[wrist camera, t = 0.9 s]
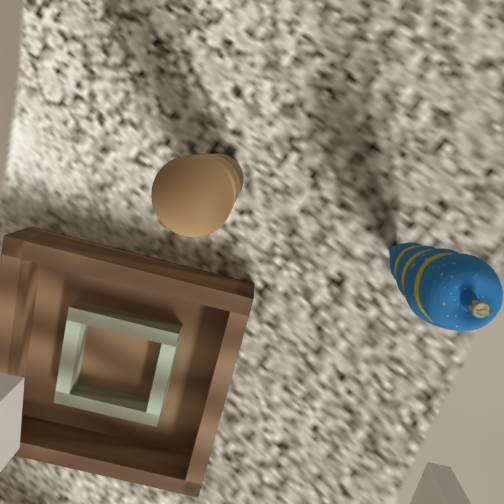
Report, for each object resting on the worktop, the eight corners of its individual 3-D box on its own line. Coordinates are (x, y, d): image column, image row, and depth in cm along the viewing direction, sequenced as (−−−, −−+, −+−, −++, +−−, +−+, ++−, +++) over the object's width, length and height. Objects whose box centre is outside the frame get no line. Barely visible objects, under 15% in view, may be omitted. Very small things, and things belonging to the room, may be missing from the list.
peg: (199, 147, 35) (160, 145, 21) (248, 160, 35) (241, 167, 21) (188, 197, 36) (144, 225, 22) (236, 209, 36) (222, 245, 22)
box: (30, 226, 37) (3, 235, 33) (254, 283, 38) (253, 299, 34) (6, 419, 42) (-20, 447, 38) (203, 465, 43) (197, 497, 39)
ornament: (362, 227, 36) (432, 279, 22) (420, 215, 36) (530, 261, 21) (370, 281, 37) (441, 365, 23) (426, 270, 37) (534, 348, 22)
